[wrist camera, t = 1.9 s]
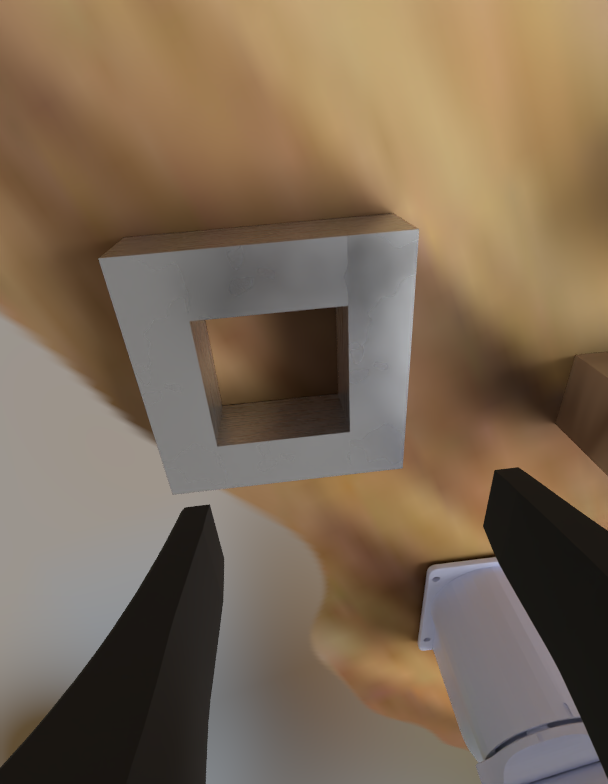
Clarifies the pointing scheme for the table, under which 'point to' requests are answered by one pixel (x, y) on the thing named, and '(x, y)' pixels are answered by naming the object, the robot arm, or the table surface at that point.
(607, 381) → the square bit
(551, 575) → the robot arm
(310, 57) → the table surface
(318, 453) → the socket block
